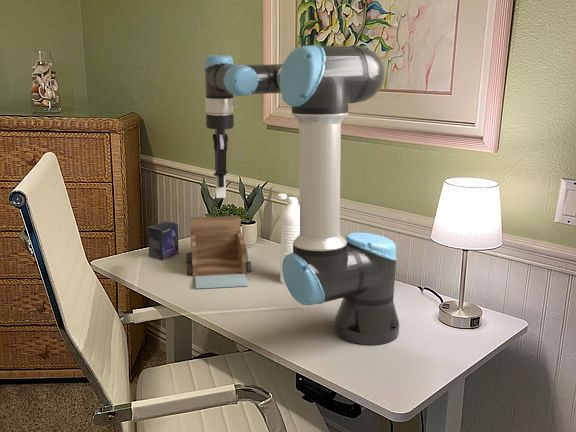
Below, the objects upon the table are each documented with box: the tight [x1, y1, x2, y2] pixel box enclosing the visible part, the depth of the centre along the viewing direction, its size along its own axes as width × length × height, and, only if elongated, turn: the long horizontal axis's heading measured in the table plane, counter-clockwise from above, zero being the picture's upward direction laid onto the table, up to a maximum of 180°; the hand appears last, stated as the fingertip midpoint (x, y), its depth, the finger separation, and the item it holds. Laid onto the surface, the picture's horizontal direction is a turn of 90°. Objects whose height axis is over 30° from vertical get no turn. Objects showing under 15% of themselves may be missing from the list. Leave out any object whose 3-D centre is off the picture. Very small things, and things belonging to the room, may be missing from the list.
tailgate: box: [193, 273, 249, 290], centre depth 172 cm, size 1×14×9 cm
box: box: [147, 221, 180, 261], centre depth 192 cm, size 8×6×11 cm
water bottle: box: [277, 193, 300, 285], centre depth 171 cm, size 9×6×25 cm
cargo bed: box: [185, 215, 252, 278], centre depth 184 cm, size 19×18×13 cm
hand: (220, 197), depth 176 cm, fingers closed
